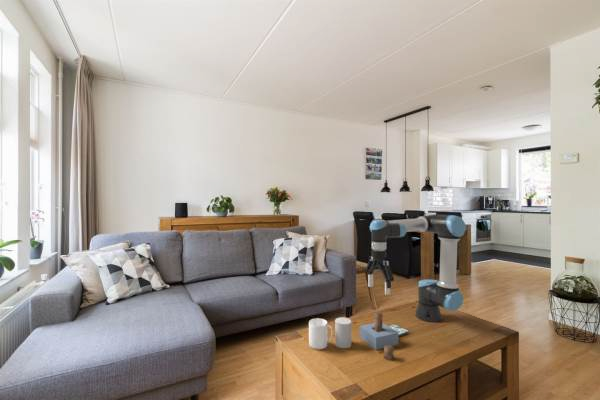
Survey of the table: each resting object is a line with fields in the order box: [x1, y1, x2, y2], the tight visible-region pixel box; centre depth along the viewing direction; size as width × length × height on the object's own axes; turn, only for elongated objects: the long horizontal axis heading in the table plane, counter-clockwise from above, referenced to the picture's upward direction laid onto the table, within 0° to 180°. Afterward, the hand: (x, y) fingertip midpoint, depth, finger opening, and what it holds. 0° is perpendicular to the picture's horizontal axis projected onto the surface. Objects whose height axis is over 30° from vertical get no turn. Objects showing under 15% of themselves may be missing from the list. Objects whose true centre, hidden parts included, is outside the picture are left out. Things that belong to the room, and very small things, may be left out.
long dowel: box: [374, 311, 384, 332], centre depth 149 cm, size 4×4×14 cm
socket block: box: [359, 322, 400, 351], centre depth 149 cm, size 14×14×6 cm
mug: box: [308, 317, 334, 351], centre depth 145 cm, size 10×12×12 cm
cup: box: [334, 316, 352, 349], centre depth 146 cm, size 8×8×12 cm
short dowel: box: [383, 345, 394, 361], centre depth 133 cm, size 4×4×5 cm
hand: (378, 290), depth 149 cm, fingers open, 13 cm apart
